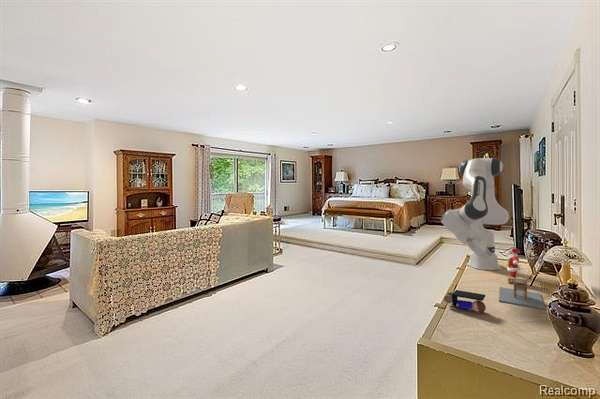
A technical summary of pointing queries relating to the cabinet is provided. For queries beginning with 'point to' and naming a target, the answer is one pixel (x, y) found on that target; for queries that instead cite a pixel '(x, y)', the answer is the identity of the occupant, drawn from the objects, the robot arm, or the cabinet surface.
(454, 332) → the cabinet surface
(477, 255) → the robot arm
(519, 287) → the stool
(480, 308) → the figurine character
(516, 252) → the santa figurine
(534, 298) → the mat
